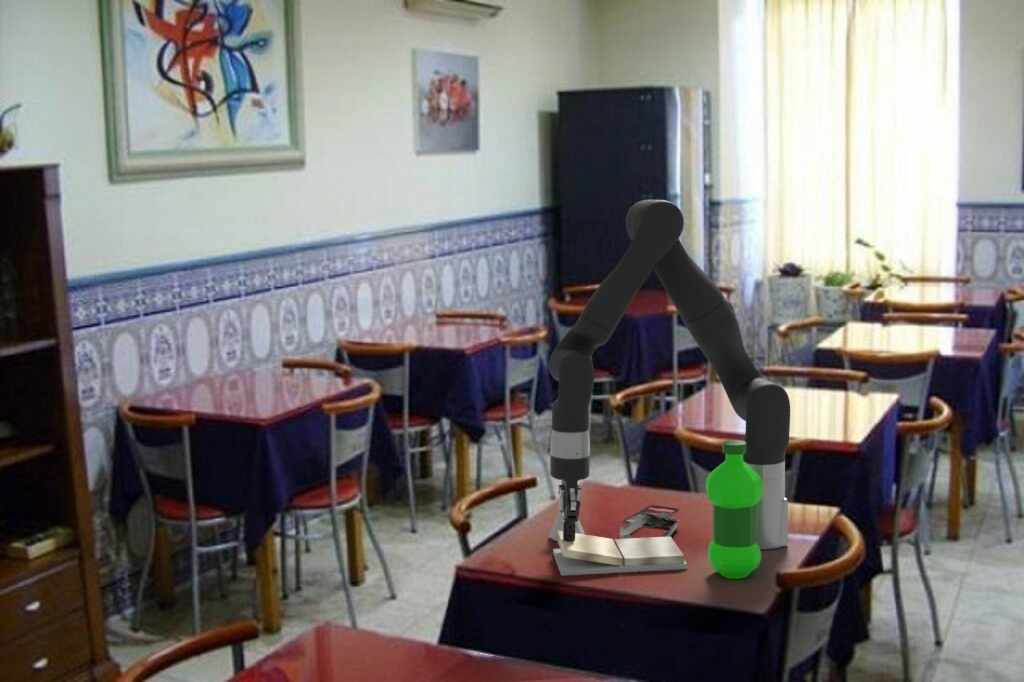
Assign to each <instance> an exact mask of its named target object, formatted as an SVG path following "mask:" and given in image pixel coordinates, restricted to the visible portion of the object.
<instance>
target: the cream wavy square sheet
mask: <svg viewBox="0 0 1024 682" xmlns="http://www.w3.org/2000/svg"><path fill="white" fill-rule="evenodd" d="M556 539H557V541H556V542H557V544H558V546H559V549H561V552H562V555H563V557H568V558H574V559H581V560H587V561H593V562H600V563H606V564H613V565H619V566H621V565H622V560H623V558H622V556H621V554H620V552H619V550H618V548H617V546H616V545H615V543H614V539H613V538H608V537H603V536H596V535H589V534H585V535H584V534H578V533H575V541H573V542H567V541H564V539H563V531H559V530H557V535H556Z"/></svg>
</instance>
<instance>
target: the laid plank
mask: <svg viewBox="0 0 1024 682" xmlns="http://www.w3.org/2000/svg"><path fill="white" fill-rule="evenodd" d="M613 541H614V543H615V545H616V546H617V548H618V550H619V552H620V554H621V556H622V558H623V560H622V562H623V563H624V565H625V566H640V565H659V564H678V563H684V560H685V555H684V554H683V552H682V550H681V549H680V548H679V546H678V545H677V544H676V542H675V541H674V539H673V538H672V535H671V536H670V537H662V536H654V537H652V536H651V537H643V538H637V537H635V538H630V539H621V538H618V539H617V538H614V539H613Z"/></svg>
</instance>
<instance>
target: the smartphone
mask: <svg viewBox="0 0 1024 682" xmlns="http://www.w3.org/2000/svg"><path fill="white" fill-rule="evenodd" d="M679 512H680V508H676V507H670V506H669V507H668V506H661V505H655V504H650V505H647V506H646V507H644V508H643V509H641V510H639V511H638V512H635V513H634V514H632V515H631V516H629V517H627V518H625V519H624V520H622V521H621V524H622V525H628V524H629V523H630V522H634V520H636V519H637V518H640V521H641V520H642V517H644V515H645V513H649V514H650V513H652V514H654V515H656V516H659V517H660V518H668V519H670V517H672V516H673V515H675V514H676V513H679ZM643 527H644V528H654V527H656V526H655V525H650V524H645V525H643ZM643 527H642V528H643Z"/></svg>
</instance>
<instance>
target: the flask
mask: <svg viewBox="0 0 1024 682" xmlns="http://www.w3.org/2000/svg"><path fill="white" fill-rule="evenodd" d="M557 495H558V497H559V499H558V500H559V502H558V507H557V512H556V514H555V518H554V521H553V524H552V527H551V529H550V532H549V534H548V538H549V539H550V540H553V541H556V542H557V539H556V535H557V530H559V531H563V520H562V515H561V507H560V494H559V492H558V491H557ZM575 533H578V534H584V535H586V532H585V530H584V529H583V526H582V524H581V522H580V519H579V518H578V522H576V523H575Z"/></svg>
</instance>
